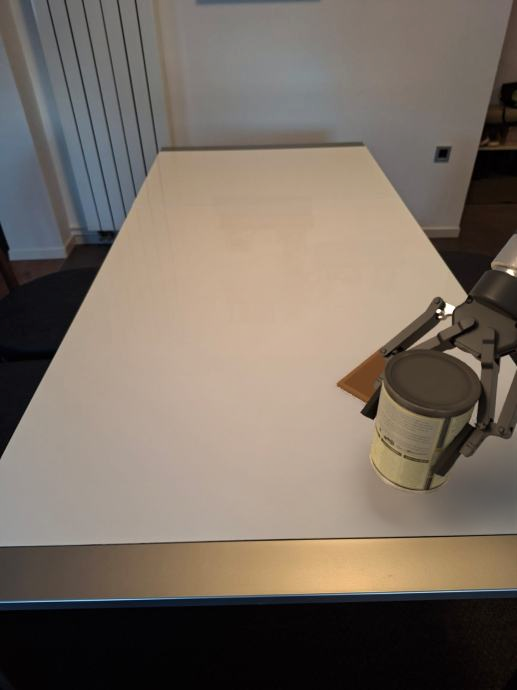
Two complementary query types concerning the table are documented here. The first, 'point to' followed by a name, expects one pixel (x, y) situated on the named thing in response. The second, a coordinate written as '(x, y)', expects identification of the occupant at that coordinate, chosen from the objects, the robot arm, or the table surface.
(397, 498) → the table surface
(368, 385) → the cork mat
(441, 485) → the coffee can
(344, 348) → the table surface
